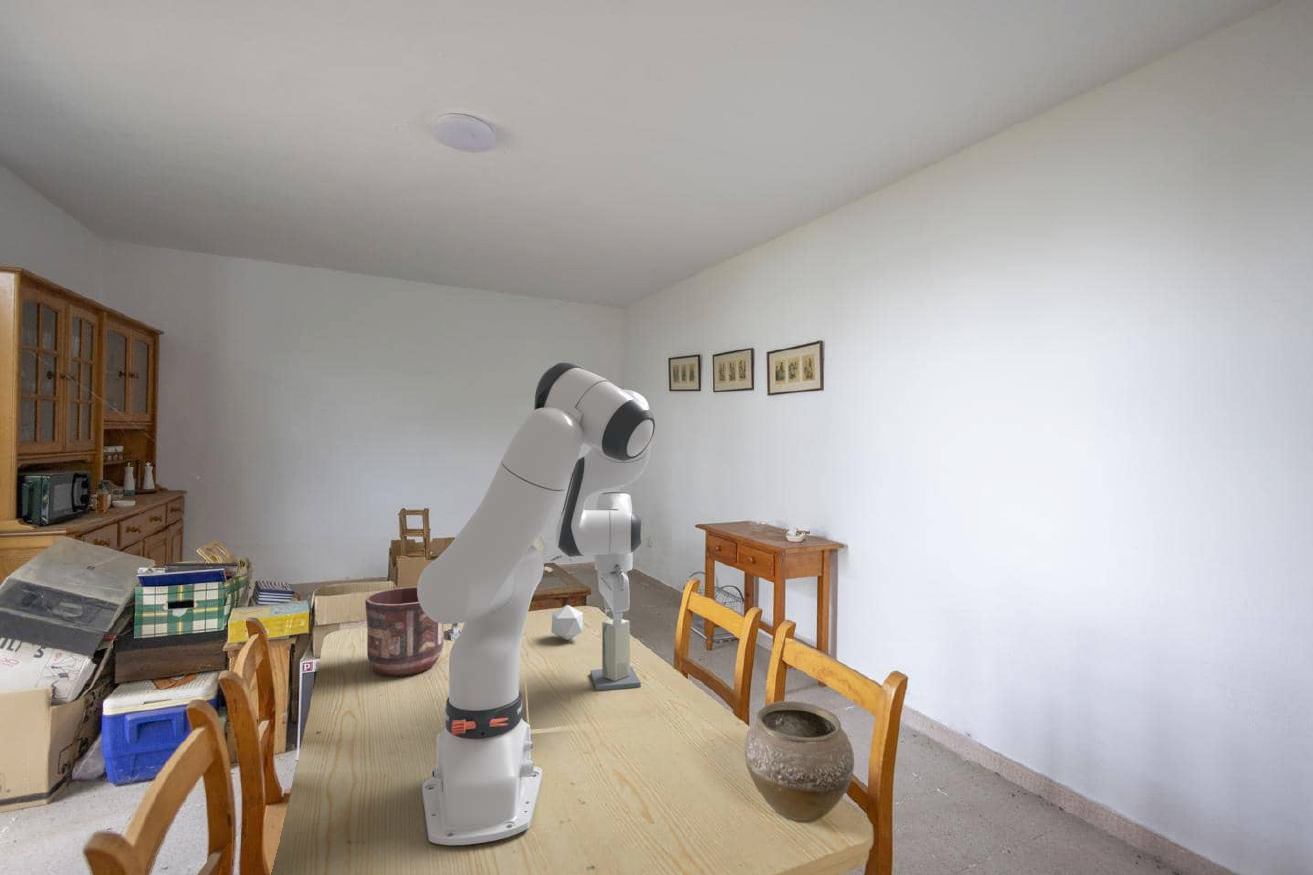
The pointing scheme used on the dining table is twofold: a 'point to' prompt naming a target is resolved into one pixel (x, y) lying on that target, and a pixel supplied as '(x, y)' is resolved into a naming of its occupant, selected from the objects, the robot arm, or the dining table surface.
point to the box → (615, 650)
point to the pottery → (401, 634)
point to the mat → (608, 684)
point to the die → (567, 622)
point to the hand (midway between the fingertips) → (613, 621)
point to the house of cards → (452, 632)
